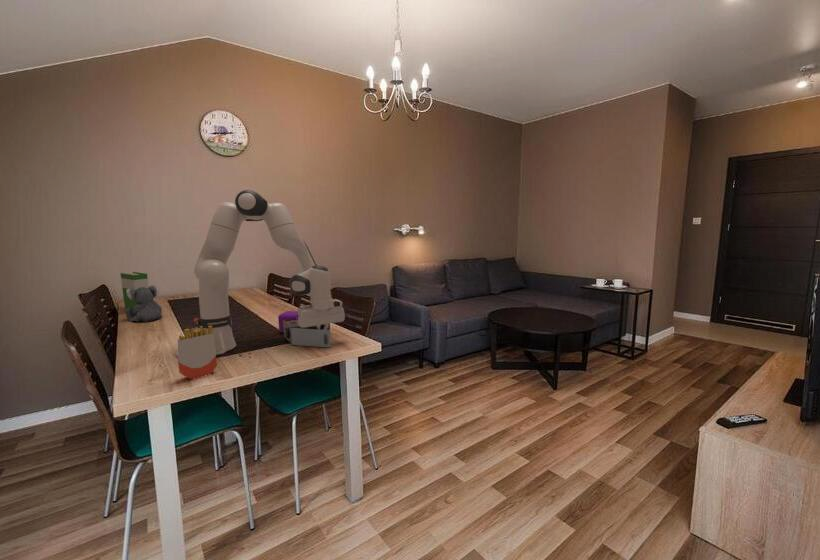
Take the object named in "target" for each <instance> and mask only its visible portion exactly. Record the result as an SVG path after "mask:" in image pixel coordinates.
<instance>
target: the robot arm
mask: <svg viewBox="0 0 820 560" xmlns="http://www.w3.org/2000/svg"><path fill="white" fill-rule="evenodd" d="M235 196H236V197H235V200H234V202H231V201H224V202H221V203H220V204H219V205H218V206H217V208H216V210H215V212H214V214H213V216H212V218H211V222H210V225H209V228H208V231H207V234H206V238H205V241H204V244H203V246H202V247H201V250H200V252H199V254H198V257H197V260H196V262H195V265H194V267H193V269H194V270H193V271H194V275H195V277H196V278H197V279H198V289H199V290H198V291H199V292H198V304H199V305H198V306H199V315H200V317H195V318H193V322H194V324H195V328H194V331H199V330H200V326H203V329H204V328H206V329H207V333H208V326H212V330H213V333H214V340H215V350H216V356H217V355H222V354H224V353H227V352H228V351H230V350H233V349H234V348H235V347H237V343H236V341H235V338H234V333H233V330H232V326H233V323H232V322H233V321H232V316H231V314H230V305H229V288H230V287H229V286H230V284H229V283H230V282H229V281H230V279H229V278H230V277H229V276H230V271H229V268H228V266H227V263H228V260H229V258H230V256H231V254H232V252H233V251H234V248H235V245H236V243H237V239H238V236H239V232H240V229H241V225H242V224H243V222H245V221H246V222H261V221H264V222H265V224H266V226H267V229H268V231H269V235H270V237H271V239H272V240H273V242H274V244H275V245H276V246H277V247H279V248H281V249H284V250H286V251H289V252H290V253H293V254H294V255H295V256H296V258H297V259H298V262H299V263H300V265H301V268H302V269H303V272H300V273H297V274H294V275H293V276H292V277H290V280H289V288H290V291H291V293H293V294H294V295H296V296H305V295H309V296H310V304H308V305H307V304H306V305H300V306H299V308H298V309H297V311H298V325H299V326H300V327H301V328H305V327H311V326H316V328H317V329H318V330H320V328H319V327H321V326H320V325H324V326H325V327H324V329H323V330H327V328H328V326H329V324H330V325H331V324H334V323H342V322H344V321H345V319H346V318H345V317H346V315H345V308H344V307H343V301H341V300H339V299H336V298H333V297H332V292H331V288H332V281H331V280H332V279H331V273H330V270H329V269H328V268H327V267H325V266H322V265H318V264H317V263H316V260H315V258H314V257H313V255H312V253H311V251H310V249H309V247H308V245H307V243H306V242H305V240H304V239H303V238H302V236H301V235H300V233H299V231H298V229H297V226H296V224H295V222H294V220H293V217H292V215H291V213H290V211H289V209H288V208H287V206H286V205H285V204H284V203H281V202H272V203H268V201H267V200H266V199H265V198H264V197H263V196H262V195H260V194H259V193H258V192H256V191H254V190H250V189H244V190H242V191H240V192H239V193H237V194H236V195H235ZM190 333H191V331H190ZM190 337H191V335H190ZM184 339H185V336H184ZM176 357H177V358H178V349H177V350H176Z"/></svg>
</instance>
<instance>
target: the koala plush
mask: <svg viewBox="0 0 820 560" xmlns="http://www.w3.org/2000/svg"><path fill="white" fill-rule="evenodd" d="M159 291H160V289H159V288H158V286H157V285H155V284H153V285H150V286H149V287H148V288H146V287H139V288H138V289H136V290H135V289H127V290H126V293H127V295H128V298H130V299H131V300H134V301H135V302H136V303H137V304H138V305H135V306H134V308H133V309H132V308H128V309H127V310H125V309H124V311H125V316H126V319H127V320H128V319H129V320H128V321H130V320H131V321H130V322H132V321H136V322H135V323H140V322H139V321H142V322H144V323H149V322H154V321H155V319H156V320H160V319H162V317H163V314H162V311H163V310H162V306H161V305H160V304H159V303H158V302H157V301H156V300H154V298H156V297H157V296H158V295H159ZM159 318H160V319H159ZM153 320H154V321H153ZM148 321H149V322H148Z"/></svg>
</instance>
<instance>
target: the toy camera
mask: <svg viewBox="0 0 820 560" xmlns="http://www.w3.org/2000/svg"><path fill="white" fill-rule="evenodd" d="M277 318H278V331H279V332H280V333H282V334H284V328H285V322H287V321H294V320H298V310H294V311H293V310H291V309H287V310H286V311H285V312H283V313H280V314H279V315H278V316H277Z"/></svg>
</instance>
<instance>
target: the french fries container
mask: <svg viewBox="0 0 820 560" xmlns="http://www.w3.org/2000/svg"><path fill="white" fill-rule="evenodd" d="M194 329H195V328H194V327H191V328H186V329H183V332H184V335H178V336H179V337H178V339H177V350H178V357H177V364H178V372H179V373H180V374H181V375H182V376H184V377H187V378H188V379H191V380H193V379H194V378H197V377H200V378H202V377H201V376H204V377H206V376H205V375H207V376H209V375H208V374H210V375H211V374H212V372H213V371H214V370H215V369H216V368H217V366H218V365H217V355H216V350H215V340H214V333H213V330H212V326H208V333H207V329H206V328H204V329H203V326H200V330H199V331H194ZM190 332H191V333H190ZM190 335H191V337H190ZM184 337H185V339H184ZM197 379H198V378H197ZM194 380H195V379H194Z"/></svg>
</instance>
